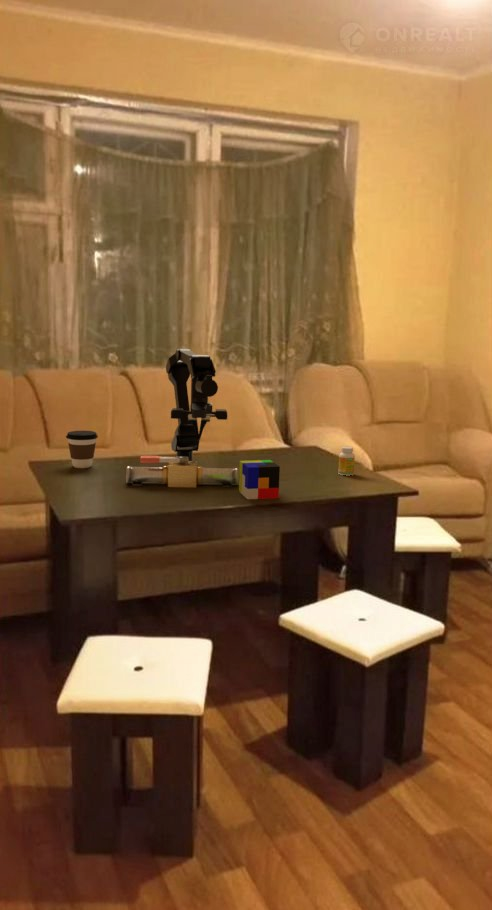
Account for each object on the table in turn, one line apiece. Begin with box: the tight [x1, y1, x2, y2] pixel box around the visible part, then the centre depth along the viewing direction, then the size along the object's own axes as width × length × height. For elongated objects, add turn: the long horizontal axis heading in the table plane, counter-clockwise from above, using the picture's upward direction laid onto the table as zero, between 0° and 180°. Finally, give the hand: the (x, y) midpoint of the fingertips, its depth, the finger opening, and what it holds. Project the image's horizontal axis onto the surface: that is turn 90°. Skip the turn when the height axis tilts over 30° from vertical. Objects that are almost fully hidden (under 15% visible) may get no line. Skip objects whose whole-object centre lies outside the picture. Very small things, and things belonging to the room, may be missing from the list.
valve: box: [125, 460, 239, 488], centre depth 258 cm, size 8×36×7 cm, turn 93°
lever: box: [140, 455, 188, 464], centre depth 256 cm, size 15×4×2 cm, turn 94°
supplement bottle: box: [337, 446, 356, 477], centre depth 279 cm, size 5×5×10 cm
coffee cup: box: [65, 430, 99, 469], centre depth 280 cm, size 11×11×12 cm
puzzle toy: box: [238, 459, 281, 500], centre depth 247 cm, size 10×10×10 cm
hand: (198, 439), depth 267 cm, fingers closed
